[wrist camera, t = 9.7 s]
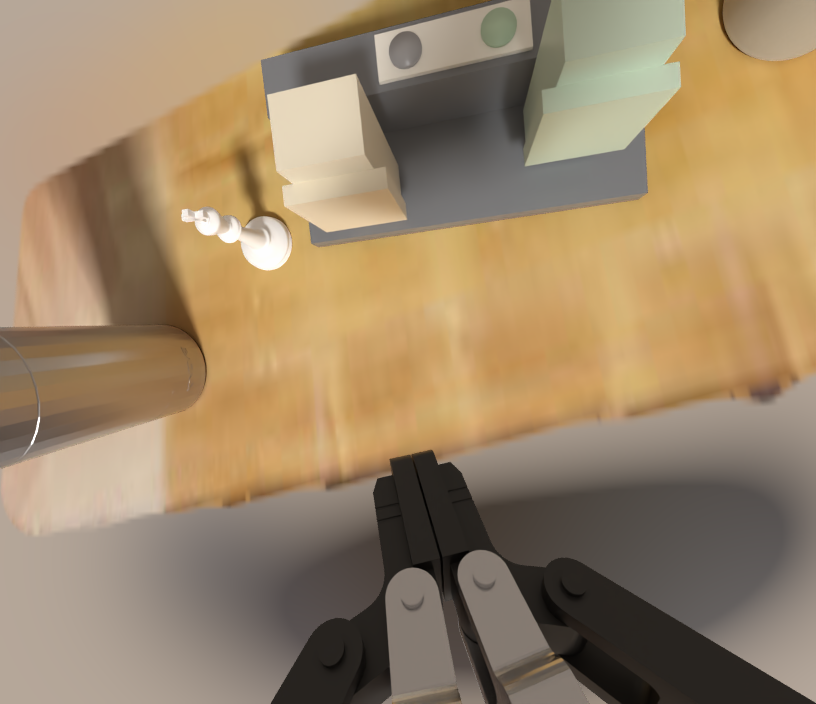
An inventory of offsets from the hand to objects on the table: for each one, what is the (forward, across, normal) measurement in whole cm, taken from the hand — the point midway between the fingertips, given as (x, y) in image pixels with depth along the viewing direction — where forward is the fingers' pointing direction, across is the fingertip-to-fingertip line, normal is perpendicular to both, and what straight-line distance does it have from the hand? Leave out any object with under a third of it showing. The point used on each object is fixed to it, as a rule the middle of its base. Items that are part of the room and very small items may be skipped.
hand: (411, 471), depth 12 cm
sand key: (+23, -2, -6) cm, 24 cm away
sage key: (+20, -17, -9) cm, 27 cm away
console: (+24, -10, -8) cm, 28 cm away
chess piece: (+28, +8, -2) cm, 29 cm away
